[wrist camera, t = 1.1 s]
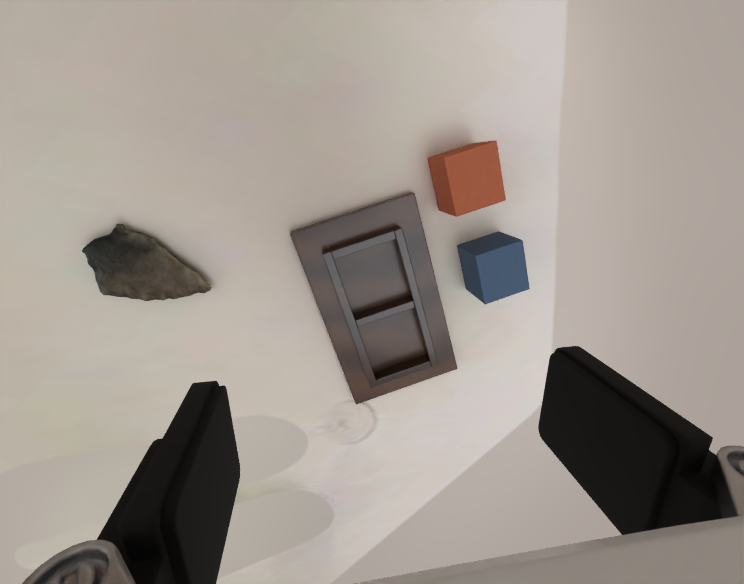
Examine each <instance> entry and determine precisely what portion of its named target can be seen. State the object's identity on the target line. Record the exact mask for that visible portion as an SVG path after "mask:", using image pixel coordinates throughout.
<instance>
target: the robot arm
mask: <svg viewBox="0 0 744 584" xmlns="http://www.w3.org/2000/svg"><path fill="white" fill-rule="evenodd" d="M539 433H540V436H541V438H542V440H543V441H544V442H545V443H546V444H547V446H548V447H549V448H550V449H551V450H552V452H553V453H554V454H555V455H556V456H557V458H558V459H559V460H560V461H561V462H562V464H563V465H564V466H565V467H566V468H567V470H568V471H569V472H570V473H571V474H572V476H573V477H574V478H575V479H576V480H577V482H578V483H579V484H580V485H581V486H582V487H583V489H584V490H585V491H586V492H587V493H588V495H589V496H590V497H591V498H592V499H593V500H594V502H595V503H596V504H597V505H598V507H599V508H600V509H601V510H602V511H603V512H604V514H605V515H606V516H607V517H608V519H609V520H610V521H611V522H612V523H613V524H614V526H615V527H616V528H617V529H618V530H619V532H621V534H622V535H620V536H614V537H609V538H603V539H597V540H591V541H585V542H580V543H574V544H569V545H563V546H558V547H552V548H546V549H540V550H535V551H529V552H524V553H519V554H513V555H508V556H502V557H496V558H490V559H485V560H479V561H474V562H468V563H463V564H457V565H452V566H447V567H441V568H436V569H430V570H425V571H419V572H414V573H409V574H403V575H399V576H393V577H387V578H382V579H377V580H371V581H366V582H361V583H355V584H744V447H742V446H725V447H722V448H721V449H720V450H719V451H718V452H717V455H715V454H714V453H712V452H711V451H710V450H709V447H710V444H711V442H712V439H713V438H712V437H711V436H709V435H708V434H707V433H705V432H704V431H702V430H701V429H699V428H698V427H696V426H695V425H693V424H692V423H691V422H689V421H688V420H686V419H685V418H683V417H682V416H680V415H679V414H677V413H676V412H674V411H673V410H671V409H670V408H668V407H667V406H666V405H664V404H663V403H661V402H660V401H658V400H657V399H655V398H654V397H652V396H651V395H649V394H648V393H646V392H645V391H644V390H642V389H641V388H639V387H638V386H636V385H635V384H633V383H632V382H630V381H629V380H627V379H626V378H624V377H623V376H622V375H620V374H619V373H617V372H616V371H614V370H613V369H611V368H610V367H608V366H607V365H605V364H604V363H603V362H601V361H600V360H598V359H597V358H595V357H594V356H592V355H591V354H589V353H588V352H586V351H585V350H584V349H582V348H580V347H578V346H572V347H562V348H558V349H556V351H555V352H554V353H553V354H552V355H551V356H550V360H549V366H548V372H547V378H546V384H545V390H544V396H543V402H542V408H541V414H540V420H539ZM239 478H240V463H239V458H238V452H237V446H236V441H235V435H234V430H233V424H232V418H231V412H230V406H229V400H228V395H227V390H226V387H225V386H219V384H218V382H217V381H210V382H200V383H193V384H192V385H191V387H190V389H189V391H188V393H187V395H186V396H185V398H184V400H183V402H182V404H181V406H180V408H179V409H178V411H177V413H176V415H175V417H174V419H173V420H172V422H171V424H170V426H169V428H168V430H167V432H166V433H165V435H164V437H163V439H157V440H155V441H154V442H153V443H152V444H151V446H150V447H149V449H148V451H147V453H146V454H145V456H144V458H143V460H142V462H141V463H140V465H139V467H138V468H137V470H136V472H135V474H134V475H133V477H132V479H131V481H130V482H129V484H128V486H127V488H126V490H125V491H124V493H123V495H122V497H121V498H120V500H119V502H118V504H117V505H116V507H115V509H114V510H113V512H112V514H111V516H110V517H109V519H108V521H107V523H106V524H105V526H104V528H103V530H102V531H101V533H100V535H99V537H98V539H97V540H91V541H86V542H83V543H79V544H76V545H73V546H71V547H69V548H67V549H65V550H63V551H61V552H59V553H58V554H56V555H54V556H53V557H52V558H50V559H49V560H47V561H46V562H45V563H43V564H42V565H40V566H39V567H38V568H37V569H36V570H35V571H34V572H33V573H32V574H31V575H30V576H29V577H28V578H27V579H26V580H25V581H24V582H23V584H216V581H217V576H218V572H219V568H220V563H221V558H222V554H223V550H224V546H225V541H226V537H227V532H228V527H229V523H230V519H231V515H232V510H233V506H234V501H235V497H236V493H237V488H238V484H239Z"/></svg>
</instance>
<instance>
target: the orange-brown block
mask: <svg viewBox="0 0 744 584" xmlns="http://www.w3.org/2000/svg"><path fill="white" fill-rule="evenodd" d="M428 162H429V167H430V171H431V176H432V180H433V185H434V189H435V194H436V198H437V202H438V207H439V210H440V211H443V212H445V213H448V214H451V215H453V216H456V217H457V216H460V215H463V214H466V213H469V212H472V211H475V210H478V209H481V208H484V207H487V206H490V205H493V204H496V203H499V202H502V201H505V193H504V187H503V180H502V174H501V167H500V161H499V155H498V148H497V142H496V141H488V142H480V143H473V144H470V145H467V146H463V147H460V148H457V149H454V150H451V151H448V152H445V153H442V154H439V155H436V156H433V157H429V158H428Z"/></svg>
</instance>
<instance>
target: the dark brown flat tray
mask: <svg viewBox="0 0 744 584" xmlns="http://www.w3.org/2000/svg"><path fill="white" fill-rule="evenodd" d="M290 235H291V237H292V240H293V242H294V245H295V247H296V250H297V253H298V255H299V258H300V260H301V263H302V266H303V268H304V271H305V273H306V276H307V279H308V281H309V284H310V286H311V289H312V292H313V294H314V297H315V299H316V302H317V304H318V307H319V310H320V312H321V315H322V317H323V320H324V323H325V325H326V328H327V330H328V333H329V336H330V338H331V341H332V343H333V346H334V349H335V351H336V354H337V356H338V359H339V361H340V364H341V367H342V369H343V372H344V374H345V377H346V380H347V382H348V385H349V387H350V390H351V393H352V395H353V398H354V400H355V403H356V404H359V403H361V402H364V401H367V400H370V399H373V398H376V397H378V396H381V395H384V394H387V393H390V392H393V391H395V390H398V389H401V388H404V387H407V386H410V385H412V384H415V383H418V382H421V381H424V380H427V379H429V378H432V377H435V376H438V375H441V374H444V373H447V372H449V371H452V370H455V369H457V365H456V361H455V357H454V353H453V349H452V345H451V341H450V336H449V332H448V328H447V324H446V320H445V316H444V312H443V308H442V304H441V300H440V296H439V292H438V288H437V284H436V279H435V275H434V271H433V267H432V263H431V259H430V255H429V251H428V247H427V243H426V239H425V235H424V231H423V227H422V222H421V218H420V214H419V210H418V206H417V202H416V198H415V194H414V193H412V192H411V193H408V194H405V195H402V196H399V197H395V198H392V199H389V200H386V201H383V202H380V203H377V204H374V205H371V206H368V207H365V208H362V209H359V210H356V211H353V212H350V213H347V214H344V215H341V216H337V217H334V218H331V219H328V220H325V221H322V222H319V223H316V224H313V225H310V226H307V227H304V228H301V229H298V230H295V231H292V232H291V233H290Z"/></svg>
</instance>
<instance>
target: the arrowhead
mask: <svg viewBox="0 0 744 584" xmlns="http://www.w3.org/2000/svg"><path fill="white" fill-rule="evenodd" d="M82 252H83V253H85V255H86V257H87V259H88V264H89V265H90V266H91V267H92V268H93V270H94V272H95V278H96V281H97V283H98V286H99V289H100V292H101V293H102V294H103V295H111V296H117V297H128V298H131V299H141V300H144V301H150V300H154V299H157V300H165V299H168V298H171V299H177V298H180V297H185V296H190V295H193V294H195V293H198V292H199V293H205V292H207V291H209V290H210V289H211V288H212V287H211V285H210V284H208V283H207V282H206V280H204V279H203V278H202V277H201V275H199V274H198V272H196V271H193V270H191V269H190V268H188V267H187V266H185V265H184V264H182V263H181V262H180V261H179V260H177V258H176V257H174V256H173V255H171V254H169V252H168V251H167V250H166V249H165V248H163V247H161V246H159V245H158V244H157V242H156V241H155V240H154V239H153V238H152V237H146V236H144V235H143V234H142V233H140V232H134V231H129V230H127V229H126V228H125V227H124V225H123V224H117V225H116V227H115V228H114V229H113V231H112V233H111V234H109V235H107V236H103V237H100V238H97V239H94V240H93V241H92V242H90V243H89V244H88V245H87V246H86V247H84V248H83V250H82Z"/></svg>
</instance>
